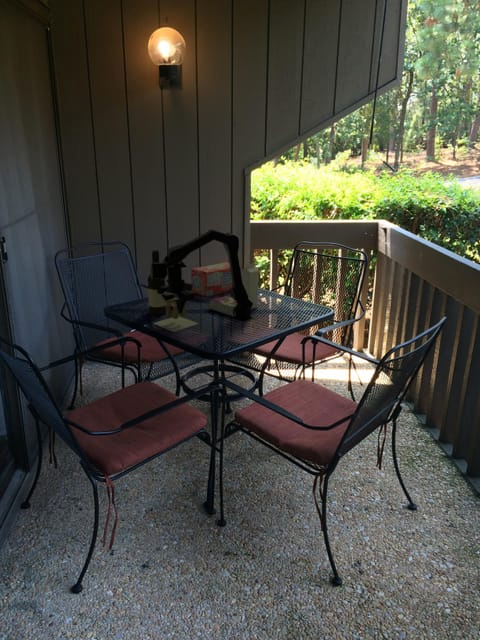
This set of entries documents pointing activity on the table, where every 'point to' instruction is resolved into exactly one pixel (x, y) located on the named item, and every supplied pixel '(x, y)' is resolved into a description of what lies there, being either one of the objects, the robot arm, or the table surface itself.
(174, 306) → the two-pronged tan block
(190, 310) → the table surface
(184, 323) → the mat
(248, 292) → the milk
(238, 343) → the table surface
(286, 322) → the table surface
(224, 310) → the candy bar box
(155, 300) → the wine bottle
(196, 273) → the box
